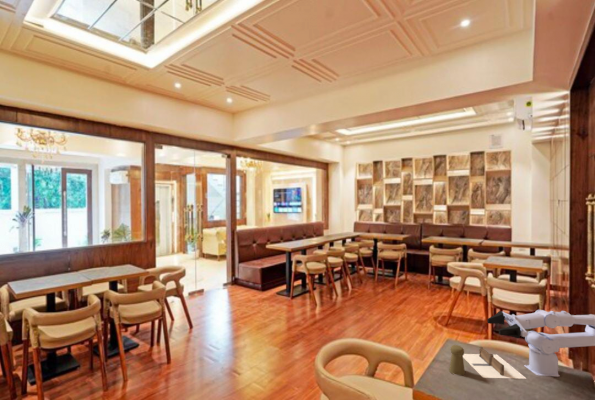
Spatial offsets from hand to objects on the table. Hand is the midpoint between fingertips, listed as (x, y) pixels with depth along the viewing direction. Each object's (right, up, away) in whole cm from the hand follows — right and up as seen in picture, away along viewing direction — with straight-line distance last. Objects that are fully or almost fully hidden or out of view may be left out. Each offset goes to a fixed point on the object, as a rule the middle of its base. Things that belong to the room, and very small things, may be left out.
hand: (493, 326), depth 133 cm
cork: (-16, -19, -1) cm, 25 cm away
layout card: (+1, -19, +4) cm, 20 cm away
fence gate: (+1, -19, -1) cm, 19 cm away
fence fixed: (+1, -19, +8) cm, 20 cm away
